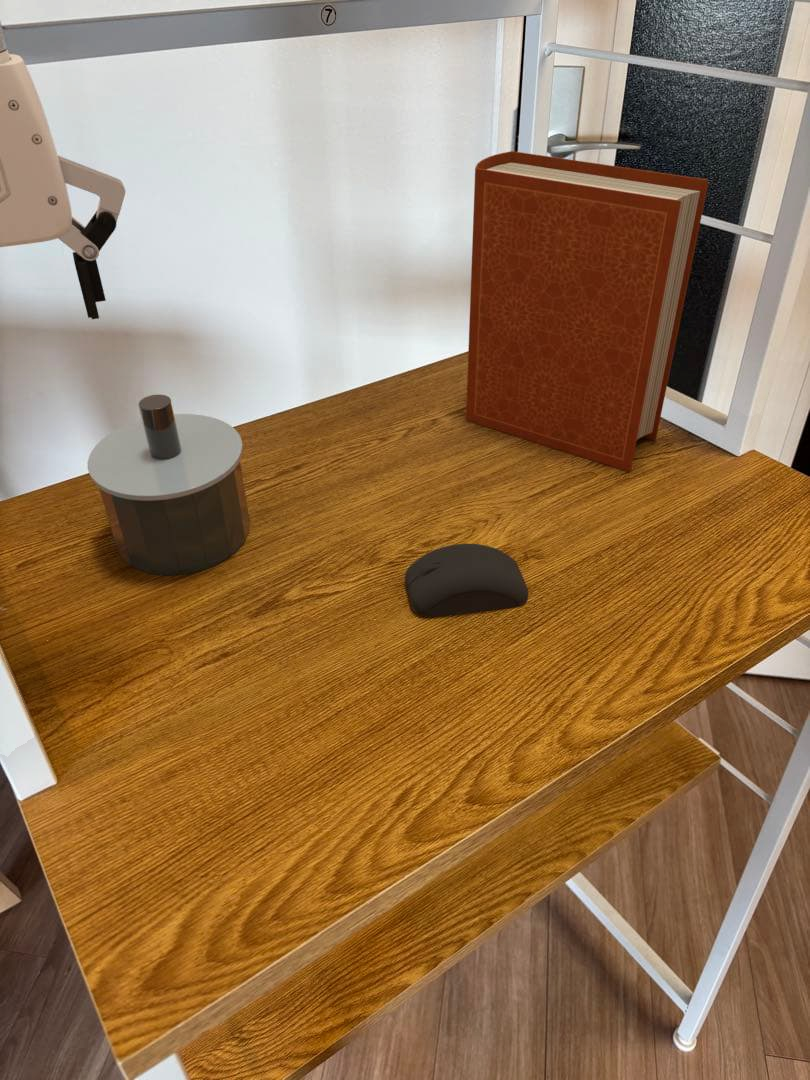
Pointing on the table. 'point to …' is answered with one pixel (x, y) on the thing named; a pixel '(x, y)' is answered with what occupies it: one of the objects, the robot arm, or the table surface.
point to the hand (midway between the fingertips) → (20, 322)
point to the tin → (181, 528)
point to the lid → (164, 454)
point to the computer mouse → (464, 581)
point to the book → (577, 299)
